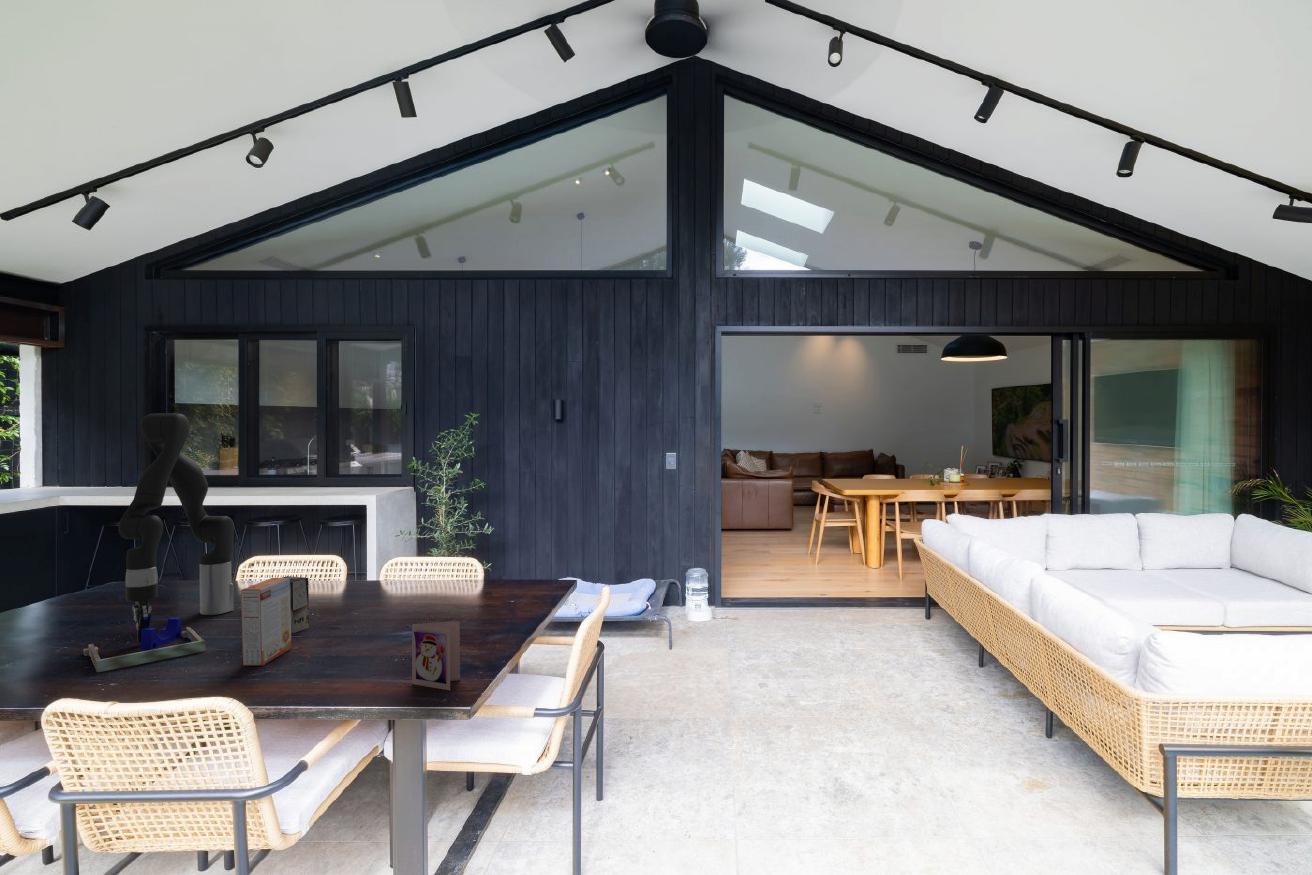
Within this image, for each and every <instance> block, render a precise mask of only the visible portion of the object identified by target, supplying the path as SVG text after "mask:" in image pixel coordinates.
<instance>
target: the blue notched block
mask: <svg viewBox="0 0 1312 875" xmlns="http://www.w3.org/2000/svg"><path fill="white" fill-rule="evenodd" d="M156 629H157V628H156V627H149V628H144V629H141V643H140V651H148V650H153V649H158V648H159V647H160V648H161V647H162V646H164V645H166V644H168V642H169V643H171V642H173V641H175V640H177V639H180V638H182V636H181V632H182V617H169V618H167V624H166V626H165V627H163V628H162V629H159V631H158V632H156Z"/></svg>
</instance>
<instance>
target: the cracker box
mask: <svg viewBox="0 0 1312 875" xmlns="http://www.w3.org/2000/svg"><path fill="white" fill-rule="evenodd" d="M240 602H241V603H240V608H241V610H240V611H241V639H242V642H241V644H242V646H241V647H242V665H243V666H244V667H250V666H251V667H253V666H254V667H256V666H257V667H259V666H260V667H263V666H265V665H267V664H268V663H269V662H271V661H273V660H275V659H276V658H278V657H280V656H281V655H283V654H285V653H286V652H288V651H290V650H292V633H291V609H290V578H282V577H271V578H268V579H266V580H262V581H260V582H258V583H256V584H253V585H250V586H247V587H245V588H242V589H241V590H240Z"/></svg>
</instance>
